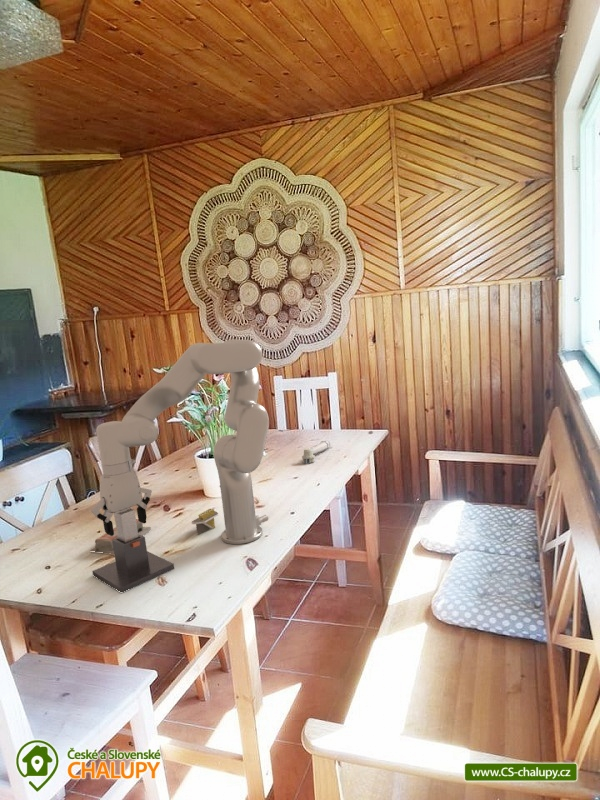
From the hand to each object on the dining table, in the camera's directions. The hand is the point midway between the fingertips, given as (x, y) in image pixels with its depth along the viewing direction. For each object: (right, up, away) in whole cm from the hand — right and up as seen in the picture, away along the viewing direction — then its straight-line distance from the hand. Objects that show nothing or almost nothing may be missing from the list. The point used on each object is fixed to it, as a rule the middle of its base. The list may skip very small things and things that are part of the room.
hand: (126, 528), depth 156 cm
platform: (+18, -7, +27) cm, 33 cm away
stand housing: (+1, -13, +2) cm, 13 cm away
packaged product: (-9, -10, +25) cm, 29 cm away
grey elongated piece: (+55, +10, +99) cm, 114 cm away
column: (+1, -11, +2) cm, 11 cm away
